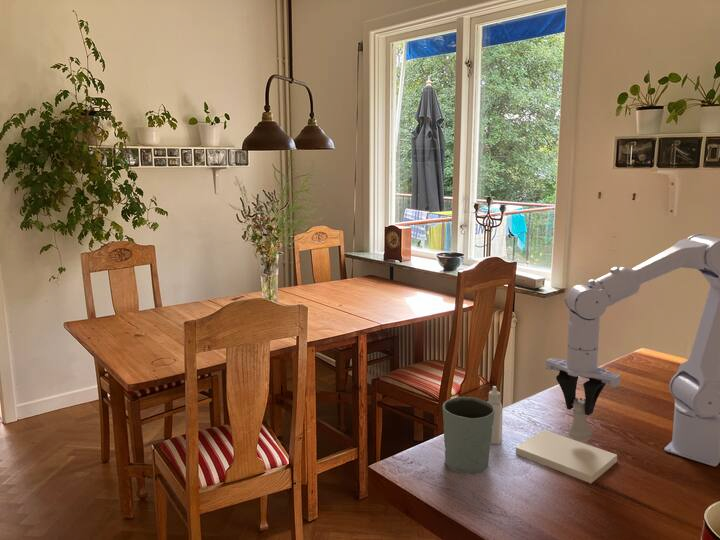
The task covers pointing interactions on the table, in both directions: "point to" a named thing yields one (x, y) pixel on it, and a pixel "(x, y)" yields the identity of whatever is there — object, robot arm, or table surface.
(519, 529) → the table surface
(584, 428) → the rook chess piece
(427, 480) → the table surface
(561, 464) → the cream tile
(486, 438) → the green cup
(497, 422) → the eye dropper bottle
